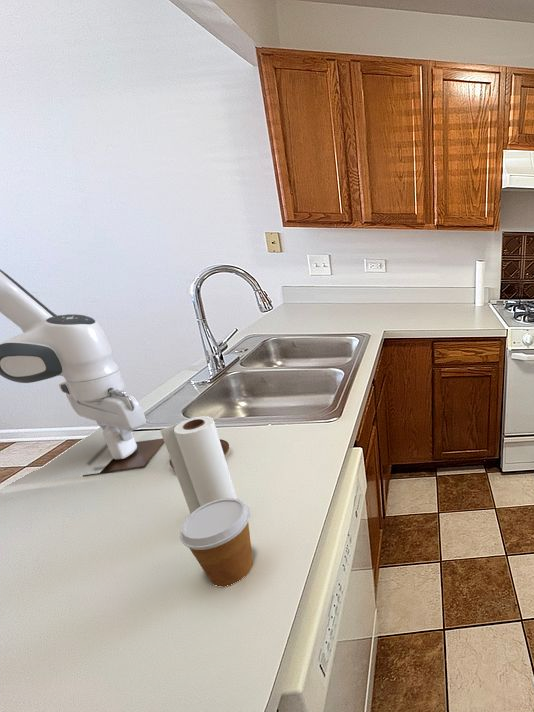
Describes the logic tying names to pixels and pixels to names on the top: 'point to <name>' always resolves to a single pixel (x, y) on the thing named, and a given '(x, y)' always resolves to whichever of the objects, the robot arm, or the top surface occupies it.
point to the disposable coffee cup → (220, 540)
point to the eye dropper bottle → (118, 443)
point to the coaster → (134, 457)
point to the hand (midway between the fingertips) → (119, 437)
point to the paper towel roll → (198, 461)
